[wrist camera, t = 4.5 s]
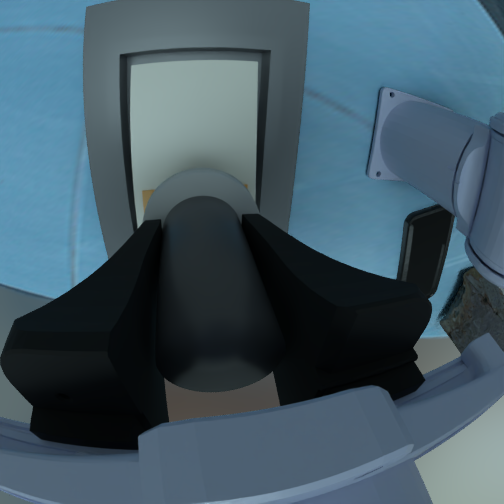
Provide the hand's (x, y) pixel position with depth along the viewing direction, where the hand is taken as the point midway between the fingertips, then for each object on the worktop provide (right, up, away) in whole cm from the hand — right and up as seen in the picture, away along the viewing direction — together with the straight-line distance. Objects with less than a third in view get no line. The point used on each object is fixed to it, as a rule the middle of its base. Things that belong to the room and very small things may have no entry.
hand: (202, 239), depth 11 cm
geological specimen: (+35, -7, +27) cm, 45 cm away
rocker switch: (-1, +6, +5) cm, 7 cm away
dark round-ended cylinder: (-1, +2, +3) cm, 3 cm away
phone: (+22, -1, +20) cm, 30 cm away
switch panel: (-2, +7, +7) cm, 11 cm away
